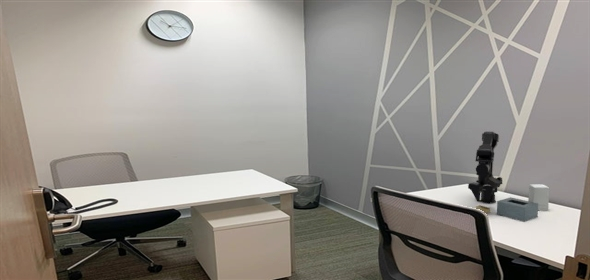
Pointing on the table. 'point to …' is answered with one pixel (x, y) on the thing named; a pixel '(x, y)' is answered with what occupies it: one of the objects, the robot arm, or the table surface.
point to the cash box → (517, 209)
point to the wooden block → (483, 208)
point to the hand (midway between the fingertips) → (483, 200)
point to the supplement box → (539, 195)
